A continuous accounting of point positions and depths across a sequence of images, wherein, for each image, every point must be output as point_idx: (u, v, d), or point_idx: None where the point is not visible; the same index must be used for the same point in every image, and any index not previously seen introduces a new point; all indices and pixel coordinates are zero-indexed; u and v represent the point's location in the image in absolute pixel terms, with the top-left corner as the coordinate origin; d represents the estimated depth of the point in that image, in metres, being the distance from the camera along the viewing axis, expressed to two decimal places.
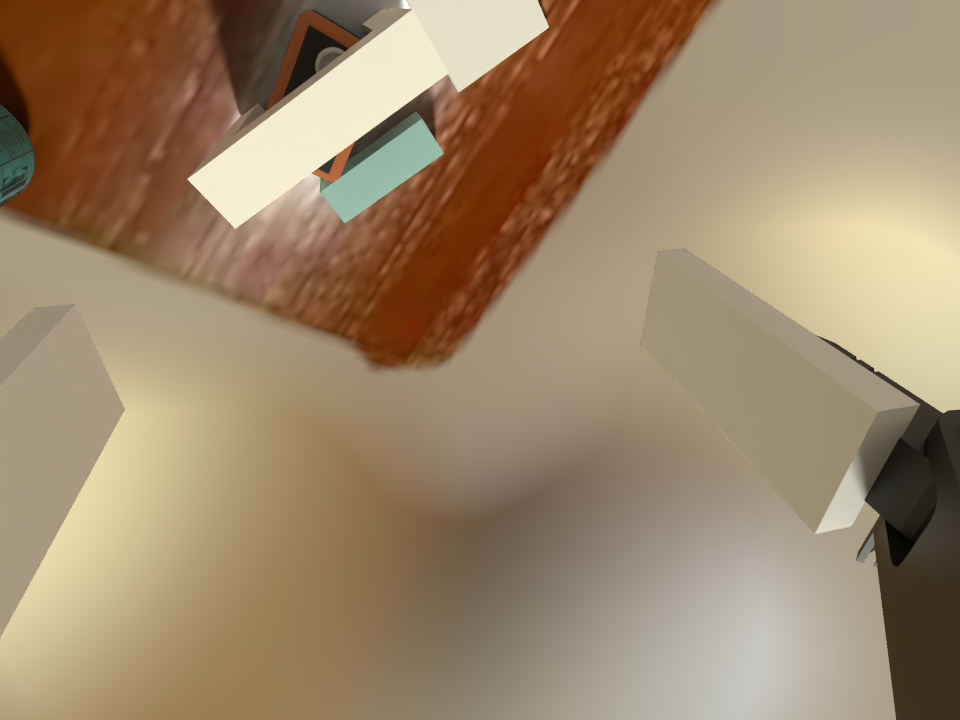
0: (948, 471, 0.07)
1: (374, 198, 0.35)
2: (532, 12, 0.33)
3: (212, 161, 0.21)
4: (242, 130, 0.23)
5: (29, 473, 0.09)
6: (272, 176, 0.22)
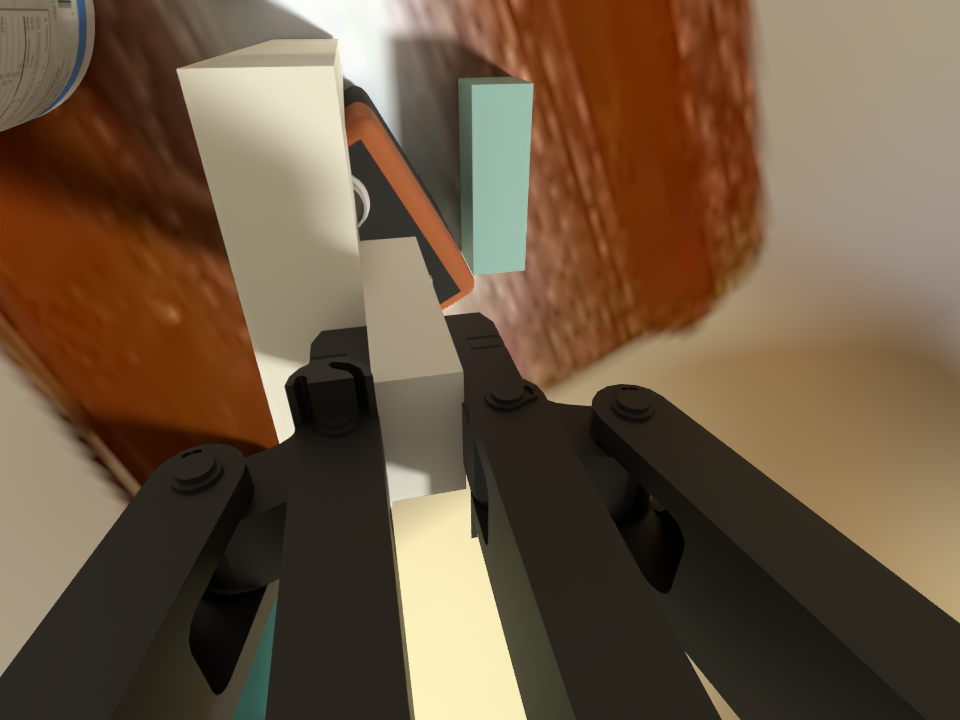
0: (483, 452, 0.07)
1: (522, 217, 0.24)
2: None
3: None
4: None
5: None
6: None
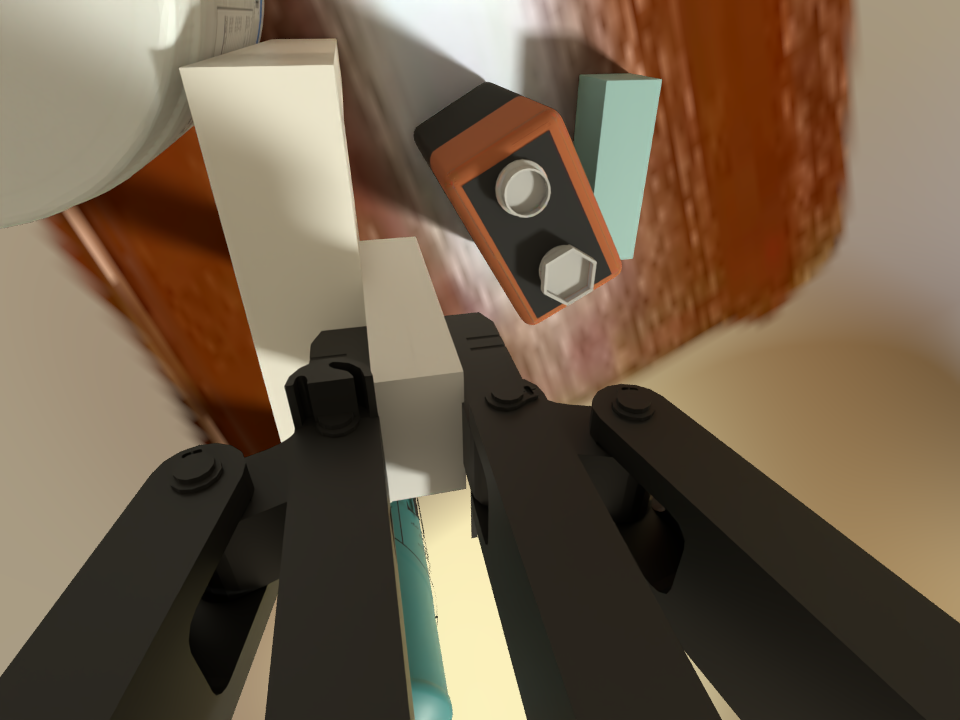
0: (483, 451, 0.07)
1: (636, 207, 0.25)
2: None
3: None
4: None
5: None
6: None
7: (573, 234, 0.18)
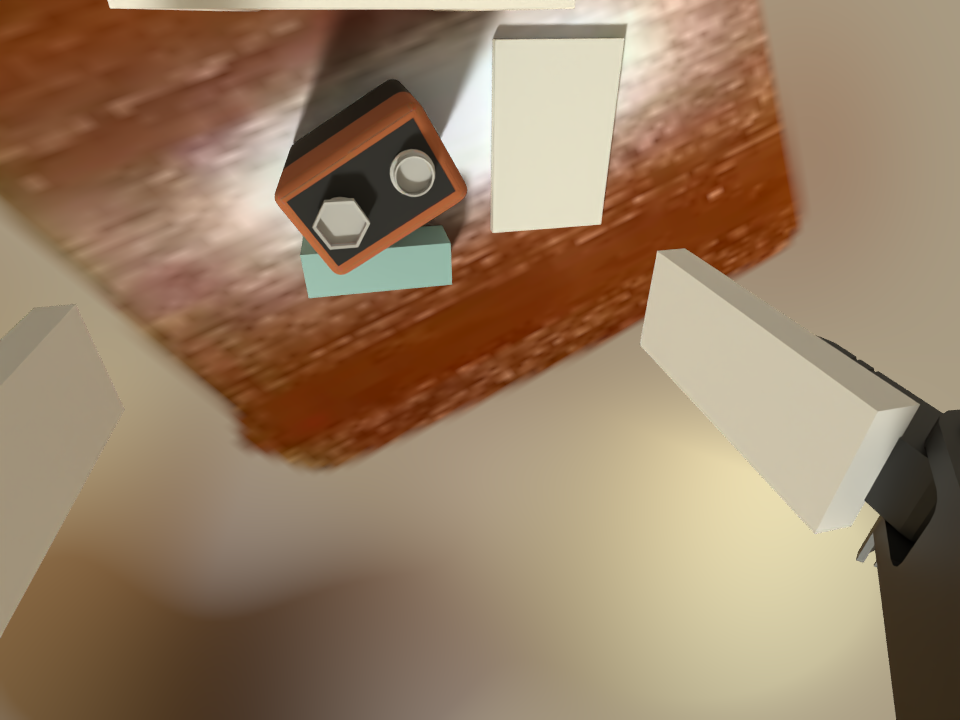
0: (948, 471, 0.07)
1: (356, 289, 0.29)
2: (594, 204, 0.32)
3: None
4: None
5: (29, 473, 0.09)
6: None
7: (373, 224, 0.22)
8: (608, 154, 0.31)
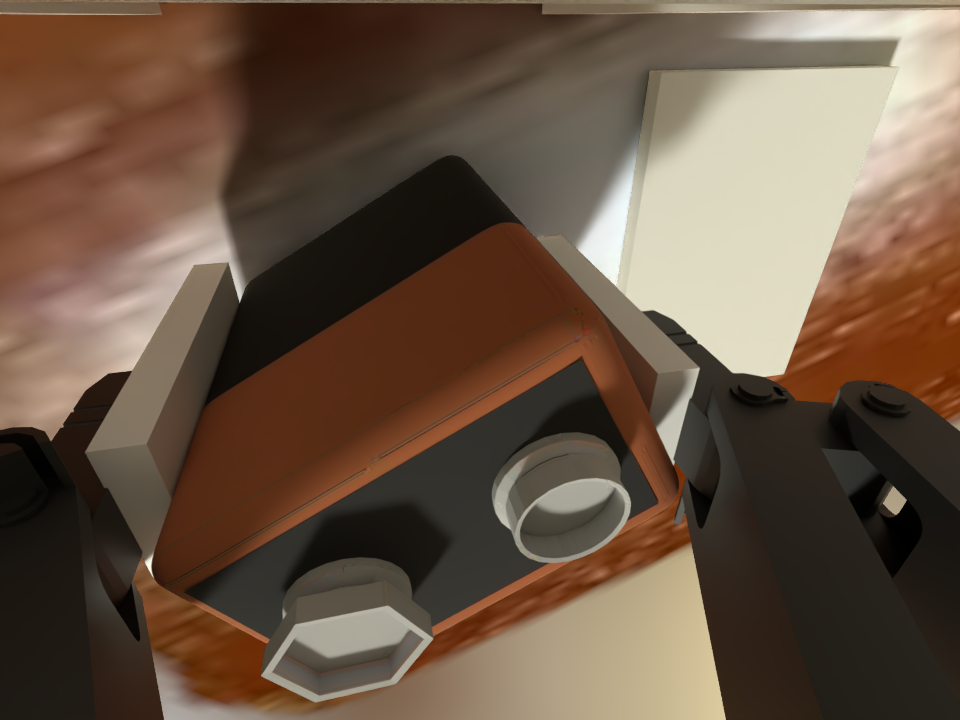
0: (724, 436, 0.08)
1: None
2: (780, 346, 0.19)
3: None
4: None
5: None
6: None
7: (436, 594, 0.08)
8: (821, 268, 0.17)
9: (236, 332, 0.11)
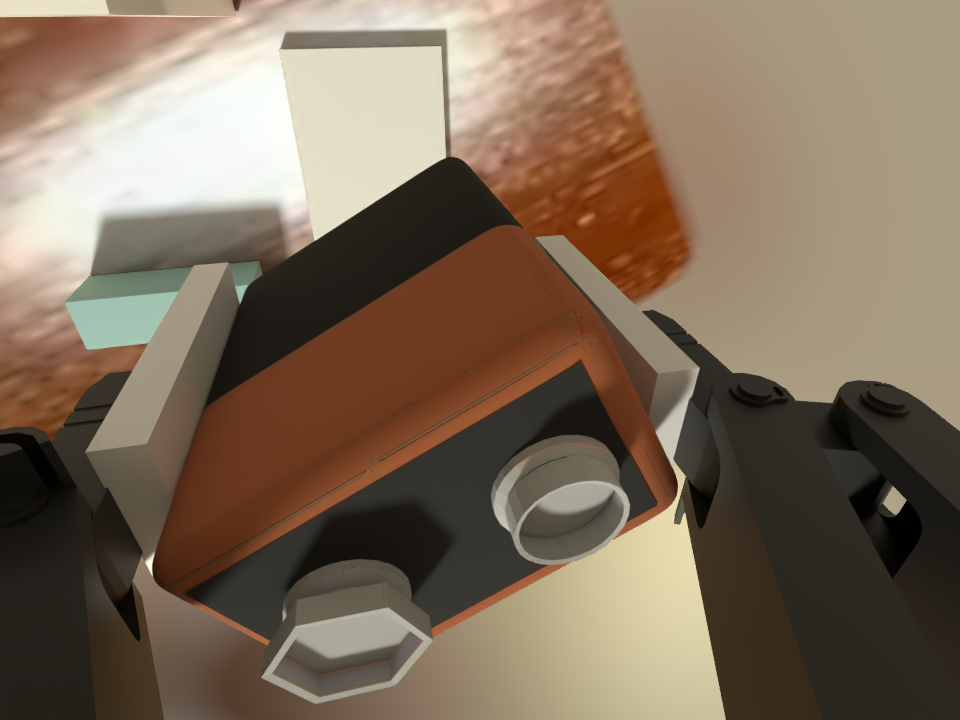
0: (724, 436, 0.08)
1: (145, 339, 0.25)
2: None
3: None
4: None
5: None
6: None
7: (435, 596, 0.08)
8: None
9: (236, 334, 0.11)
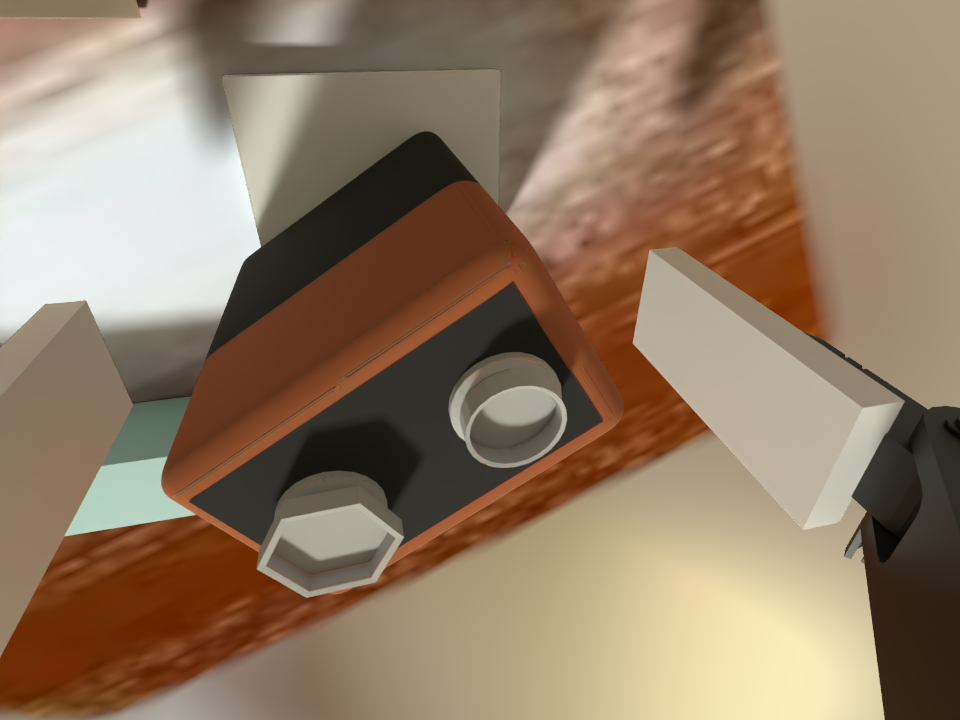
0: (933, 468, 0.07)
1: None
2: None
3: None
4: None
5: (42, 467, 0.09)
6: None
7: (410, 508, 0.09)
8: None
9: (233, 299, 0.12)
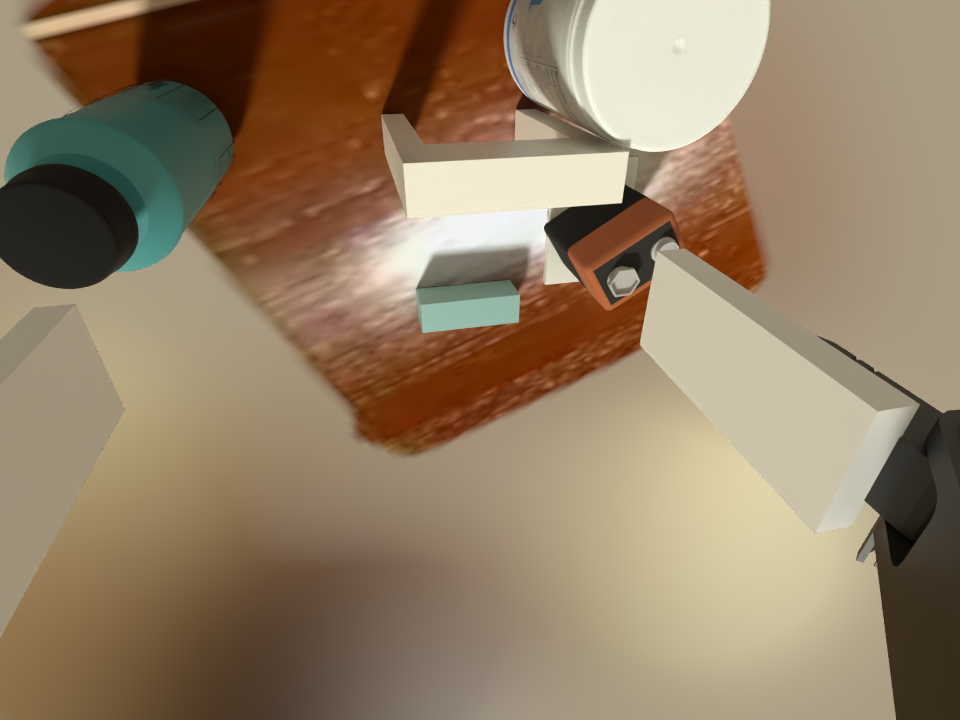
0: (949, 472, 0.07)
1: (454, 326, 0.43)
2: None
3: (430, 162, 0.24)
4: (441, 146, 0.27)
5: (29, 473, 0.09)
6: (463, 198, 0.25)
7: None
8: None
9: (561, 234, 0.39)
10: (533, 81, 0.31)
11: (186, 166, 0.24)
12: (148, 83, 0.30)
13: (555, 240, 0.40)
